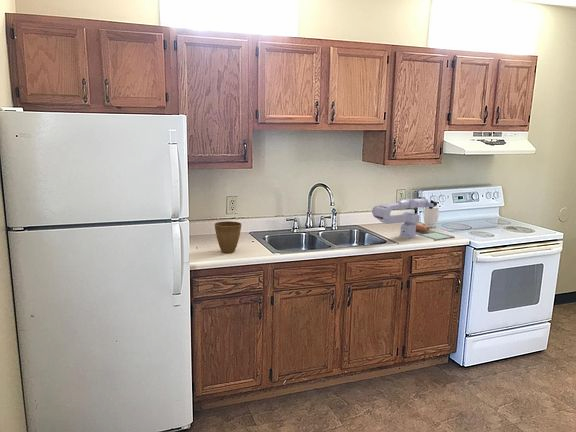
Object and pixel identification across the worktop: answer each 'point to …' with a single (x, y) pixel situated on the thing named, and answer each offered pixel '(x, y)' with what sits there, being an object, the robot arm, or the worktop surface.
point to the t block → (422, 228)
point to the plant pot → (228, 235)
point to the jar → (431, 216)
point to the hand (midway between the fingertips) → (431, 202)
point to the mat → (434, 235)
